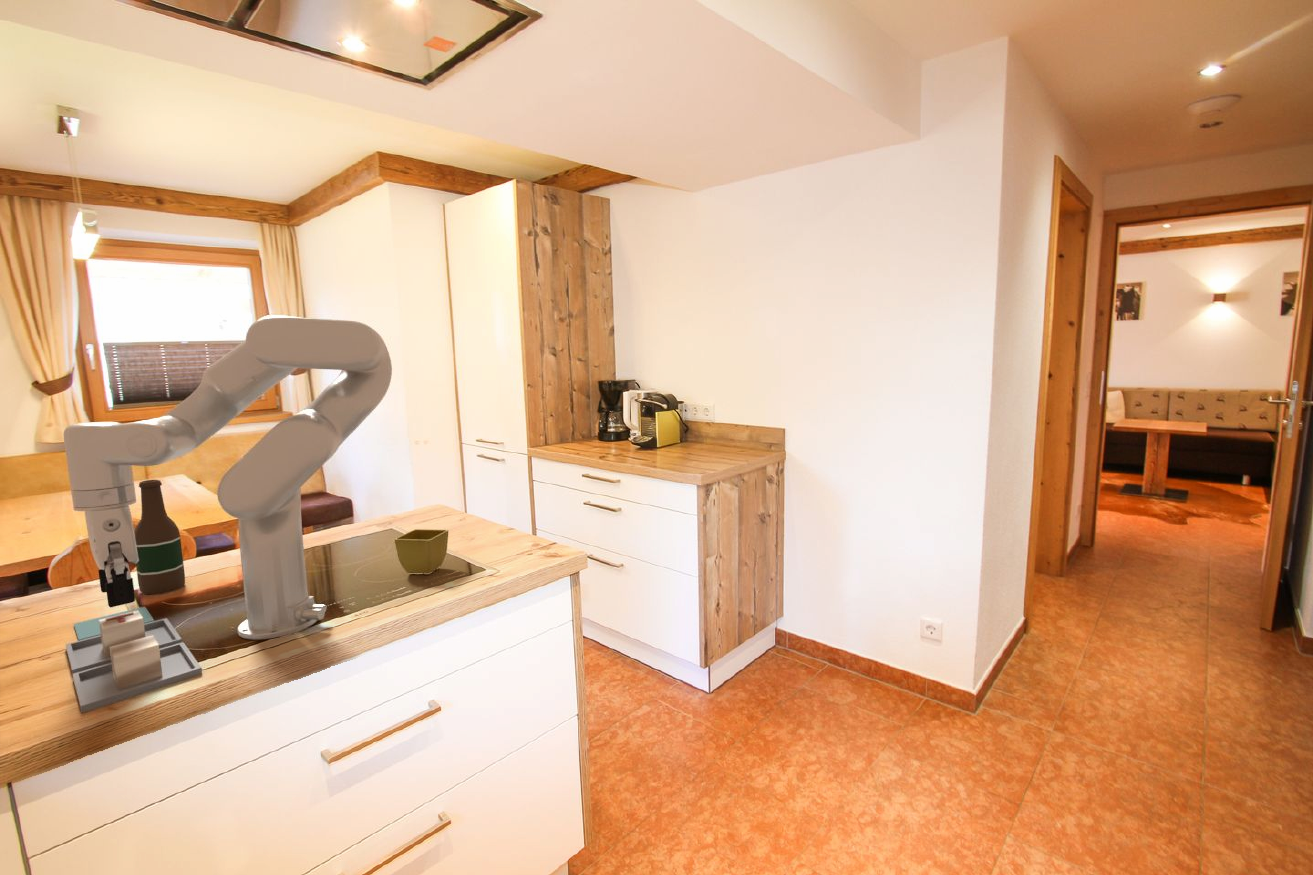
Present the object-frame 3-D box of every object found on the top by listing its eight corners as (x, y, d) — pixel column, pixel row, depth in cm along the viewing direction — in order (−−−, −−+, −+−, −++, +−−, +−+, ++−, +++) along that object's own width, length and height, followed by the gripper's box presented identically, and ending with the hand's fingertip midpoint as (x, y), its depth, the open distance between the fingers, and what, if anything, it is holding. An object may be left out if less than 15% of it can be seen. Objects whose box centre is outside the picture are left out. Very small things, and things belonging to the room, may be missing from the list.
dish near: (202, 676, 88) (201, 667, 88) (82, 715, 79) (80, 706, 78) (184, 649, 97) (183, 641, 97) (73, 682, 87) (72, 673, 87)
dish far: (182, 646, 98) (181, 638, 98) (73, 678, 88) (72, 669, 88) (167, 625, 107) (166, 617, 107) (66, 651, 97) (65, 644, 97)
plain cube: (162, 675, 88) (158, 644, 87) (118, 689, 84) (113, 657, 84) (156, 665, 91) (152, 635, 91) (113, 677, 88) (109, 646, 87)
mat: (154, 624, 107) (154, 620, 107) (79, 643, 100) (78, 639, 100) (145, 610, 114) (145, 606, 114) (74, 627, 106) (73, 623, 106)
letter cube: (146, 646, 98) (142, 616, 97) (106, 657, 94) (102, 627, 94) (141, 637, 101) (138, 609, 101) (102, 648, 97) (98, 618, 97)
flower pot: (417, 564, 138) (414, 528, 137) (451, 565, 137) (449, 529, 136) (396, 577, 130) (393, 539, 129) (432, 579, 129) (429, 540, 128)
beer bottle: (158, 596, 121) (145, 484, 118) (129, 594, 123) (115, 483, 120) (195, 583, 129) (182, 477, 126) (167, 581, 130) (154, 476, 127)
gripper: (143, 500, 92) (156, 602, 94) (127, 487, 103) (139, 578, 105) (77, 509, 86) (92, 618, 88) (68, 494, 97) (81, 591, 99)
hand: (118, 596), depth 97 cm, fingers open, 9 cm apart
